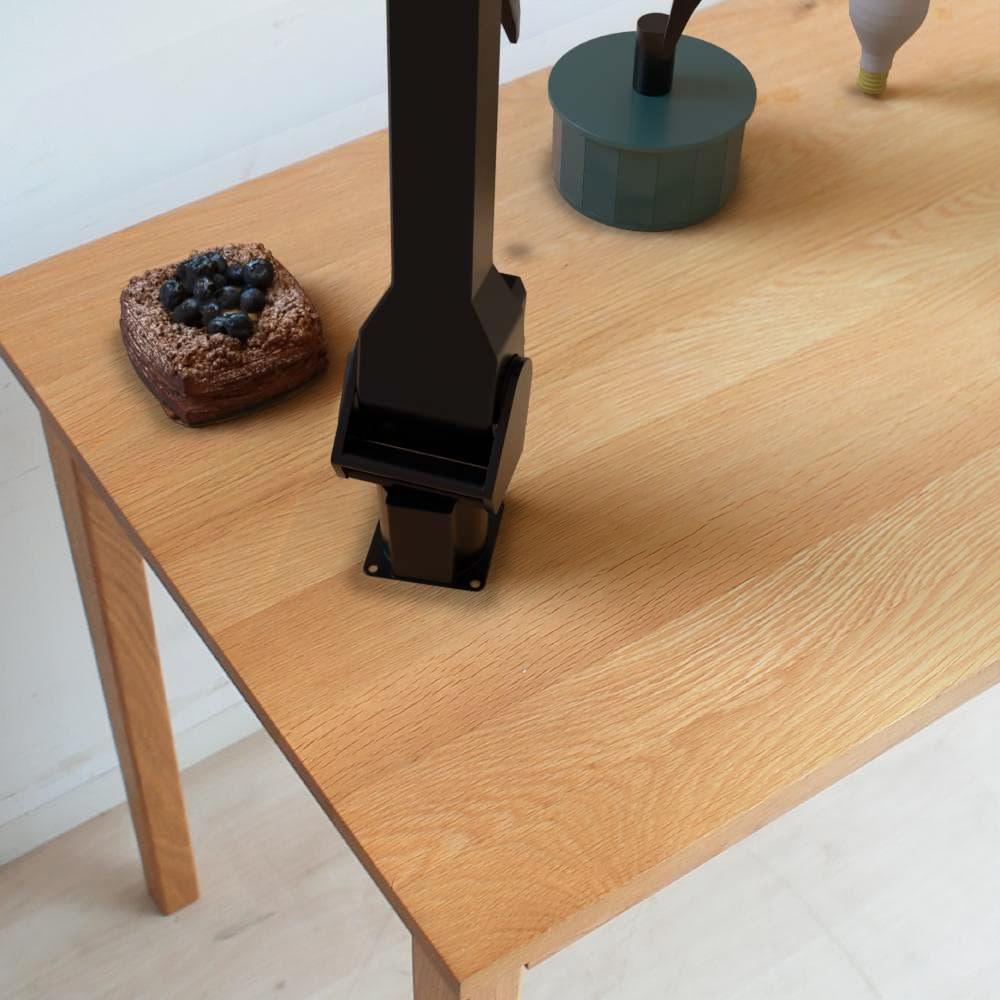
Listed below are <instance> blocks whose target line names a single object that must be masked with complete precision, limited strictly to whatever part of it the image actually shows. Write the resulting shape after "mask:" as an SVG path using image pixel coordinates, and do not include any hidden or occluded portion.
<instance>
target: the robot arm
mask: <svg viewBox="0 0 1000 1000" xmlns="http://www.w3.org/2000/svg"><path fill="white" fill-rule="evenodd" d="M702 1H703V0H672V3H671V7H670V11H669V14H668V15H669V19H668V23H667V27H666V31H665V36H664V40H663V50H662V60H669V58H670V56H671V54H672V52H673V50H674V48H675V46H676V44H677V42H678V40H679V38H680V36H681V34H683V32H684V31H685V28H686V27H687V24H688V23H689V21H690V19H691V17H692V15H693V13H694V12H695V11H696V9H697V8H698V7H699V5H700V4H701V2H702ZM385 13H386V14H385V17H386V18H385V19H386V20H385V21H386V25H385V26H386V67H387V69H386V70H387V72H386V74H387V117H388V119H387V120H388V121H387V123H388V162H389V163H388V167H389V170H388V172H389V173H388V174H389V175H388V176H389V217H390V218H389V219H390V221H389V222H390V223H389V224H390V225H389V227H390V259H391V260H390V261H391V262H390V269H391V273H390V282H389V284H388V285H387V287H386V288H385V289H384V292H383V293H382V294H381V296H380V297H379V299H378V300H377V302H376V304H374V306H373V307H372V309H371V311H370V312H369V313H368V315H367V317H366V318H365V320H364V321H363V323H362V324H361V326H360V327H359V329H358V332H357V333H358V334H357V339H356V341H355V344H354V347H352V348H351V349H350V350H349V351H348V353H347V359H346V365H345V370H344V376H343V383H342V389H341V396H340V402H339V408H338V417H337V426H336V430H335V435H334V439H333V445H332V449H331V454H330V465H331V467H332V468H333V471H334V473H335V474H336V476H337V478H341V479H345V480H349V479H353V480H357V481H361V482H365V483H370V484H374V485H375V486H376V494H377V505H378V516H379V517H378V521H377V524H376V526H375V528H374V529H375V530H374V532H373V536H372V539H371V542H370V545H369V548H368V551H367V554H366V557H365V560H364V563H363V567H362V571H363V573H364V574H365V575H366V576H367V577H373V578H379V579H385V580H392V581H399V582H404V583H405V582H406V583H414V584H420V585H424V586H425V585H426V586H432V587H433V586H434V587H439V588H446V589H453V590H459V591H466V592H472V593H478V592H481V591H482V590H484V589H485V587H486V583H487V579H488V577H489V576H488V575H489V571H490V567H491V564H492V559H493V555H494V552H495V546H496V543H497V539H498V536H499V532H500V527H501V522H502V520H503V516H504V512H505V502H504V501H503V500H504V499H505V495H506V492H507V491H508V488H509V485H510V483H511V482H512V481H511V480H512V478H513V476H514V473H515V471H516V469H517V466H518V464H519V462H520V459H521V457H522V454H523V452H524V445H525V437H526V429H527V421H528V415H529V414H528V413H529V405H530V398H531V389H532V381H533V374H534V373H533V369H534V367H533V360H532V358H531V357H528V356H525V345H526V338H525V337H526V336H525V316H526V305H527V297H528V293H527V290H526V287H525V285H524V282H523V280H522V277H521V276H519V275H514V274H510V273H505V272H500V271H499V270H498V268H497V267H496V265H495V263H494V231H495V230H494V229H495V206H496V205H495V204H496V203H495V202H496V200H495V199H496V174H497V148H498V122H499V121H498V117H499V94H500V93H499V90H500V85H499V84H500V61H501V34H502V33H501V32H502V29H503V31H504V33H505V35H506V38H507V39H508V42H509V43H510V44H513V45H516V44H517V43H518V41H519V38H520V34H521V33H520V32H521V31H520V30H521V0H385ZM370 566H375V567H376V570H375V571H370V570H369V567H370ZM474 581H475V582H476V581H477V582H479V586H477V587H474V586H472V582H474Z"/></svg>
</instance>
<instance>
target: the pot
mask: <svg viewBox="0 0 1000 1000" xmlns="http://www.w3.org/2000/svg"><path fill="white" fill-rule="evenodd" d="M552 110H553V109H552ZM552 112H553V114H552V115H553V116H552V141H551V142H552V146H551V147H552V148H551V170H552V175H553V178H552V179H553V181H554V184H555V187H556V189H557V191H558V194H559V195H560V196H561V197H562V198H563V199H564V200H565V201H566V203H567V204H568V205H570V206H571V208H573V209H574V210H576V211H577V212H579V213H580V214H582V215H583V216H586V217H587V218H590V219H592V220H594V221H596V222H598V223H601V224H604V225H606V226H610V227H613V228H614V227H615V228H618V229H624V230H629V231H638V232H662V231H663V232H664V231H672V230H677V229H678V230H679V229H684V228H687V227H691V226H694V225H696V224H698V223H701V222H705V221H706V220H708V219H709V218H711V217H713V216H714V215H716V214H717V213H719V212H721V210H723V208H724V207H726V205H727V204H728V203H729V202H730V200H731V199H732V198H733V195H734V193H735V192H736V189H737V184H738V176H739V171H740V163H741V156H742V149H743V143H744V138H745V137H744V136H745V130H746V124H745V125H744V126H743V127H742V128H741V129H739V130H738V131H737V132H736V133H734V134H733V135H731V136H730V137H728V138H726V139H724V140H722V141H720V142H718V143H715V144H712V145H709V146H707V147H703V148H699V149H695V150H689V151H683V152H674V153H644V152H635V151H628V150H622V149H618V148H614V147H610V146H607V145H604V144H601V143H598V142H596V141H593V140H591V139H588V138H586V137H585V136H583V135H581V134H579V133H577V132H576V131H574V130H573V129H571V128H570V127H569V126H567V125H566V124H565V123H564V122H563V121H562V120H561V119H560V118H559V117H558V115H557V114H556V113H555V112H554V110H553V111H552Z"/></svg>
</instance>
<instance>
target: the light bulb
mask: <svg viewBox="0 0 1000 1000" xmlns="http://www.w3.org/2000/svg"><path fill="white" fill-rule="evenodd" d="M930 4H931V0H848V15H849V18H850V21H851V24H852V28H853V29H854V31H855V34H856V36H857V38H858V41H859V44H860V47H861V55H860V59H859V71H858V78H857V82H856V87H857V89H858V90H859V91H861V92H862V93H863V94H866V95H868V96H872V95H878V94H881V93H883V92H884V91H885V90H886V89H887V82H888V78H889V74H890V70H891V69H892V67H893V61H894V58H895V55H896V53H897V52H898V51H899V50H900V49H901V48H902V47H903V46H904V45H905V44H906V43H907V41H909V40H910V39H911V38H912V37H913V36H914V35H915V34H916V32H917V31H919V29H920V28H921V27H922V25H923V24H924V21H926V17H927V16H928V13H929V10H930V9H929V8H930Z"/></svg>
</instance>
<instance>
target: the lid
mask: <svg viewBox="0 0 1000 1000" xmlns="http://www.w3.org/2000/svg"><path fill="white" fill-rule="evenodd" d="M669 15H670V14H669V13H665V12H649V13H645V14H642V15H641V16H639V18H638V19H637V21H636V28H635V29H636V30H629V31H621V32H613V33H609V34H605V35H600V36H598V37H597V36H596V37H594V38H591V39H589V40H586V41H583V42H582V43H580V44H577V45H576V46H574V47H573V48H571V49H569V50H568V51H567V52H565V53H564V54H563V55H561V57H560V58H559V59H558V60H557V61H556V62H555V64H554V65H553V67H552V68H551V70H550V73H549V75H548V78H547V79H548V80H547V98H548V100H549V104H550V106H551V108H552V110H554V112H555V113H556V114H557V115H558V117H559V118H560V119H561V120H562V121H563V122H564V123H565V124H566V125H567V126H569V127H570V128H571V129H573V130H574V131H576V132H577V133H579V134H581V135H583V136H585V137H586V138H588V139H591V140H593V141H596V142H598V143H601V144H604V145H607V146H610V147H614V148H618V149H622V150H628V151H635V152H644V153H674V152H683V151H689V150H695V149H699V148H703V147H707V146H709V145H712V144H715V143H718V142H720V141H722V140H724V139H726V138H728V137H730V136H731V135H733V134H734V133H736V132H737V131H738V130H739V129H741V128H742V127H743V126H744V125H745V126H746V124H747V123H748V121H750V119H751V117H752V115H753V114H754V111H755V108H756V104H757V98H758V89H757V84H756V81H755V79H754V76H753V75H752V73H751V71H750V70H749V68H748V67H747V66H746V65H745V64H744V63H743V62H742V61H741V60H740V59H739V58H737V57H736V56H735V55H734V54H733V53H731V52H729V51H727V50H726V49H724V48H722V47H721V46H718V45H717V44H715V43H712V42H709V41H706V40H704V39H701V38H698V37H695V36H691V35H686V34H683V33H682V34H681V36H680V38H679V40H678V42H677V44H676V46H675V48H674V50H673V52H672V54H671V56H670V58H669V60H662V50H663V40H664V36H665V31H666V27H667V23H668V19H669Z"/></svg>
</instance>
